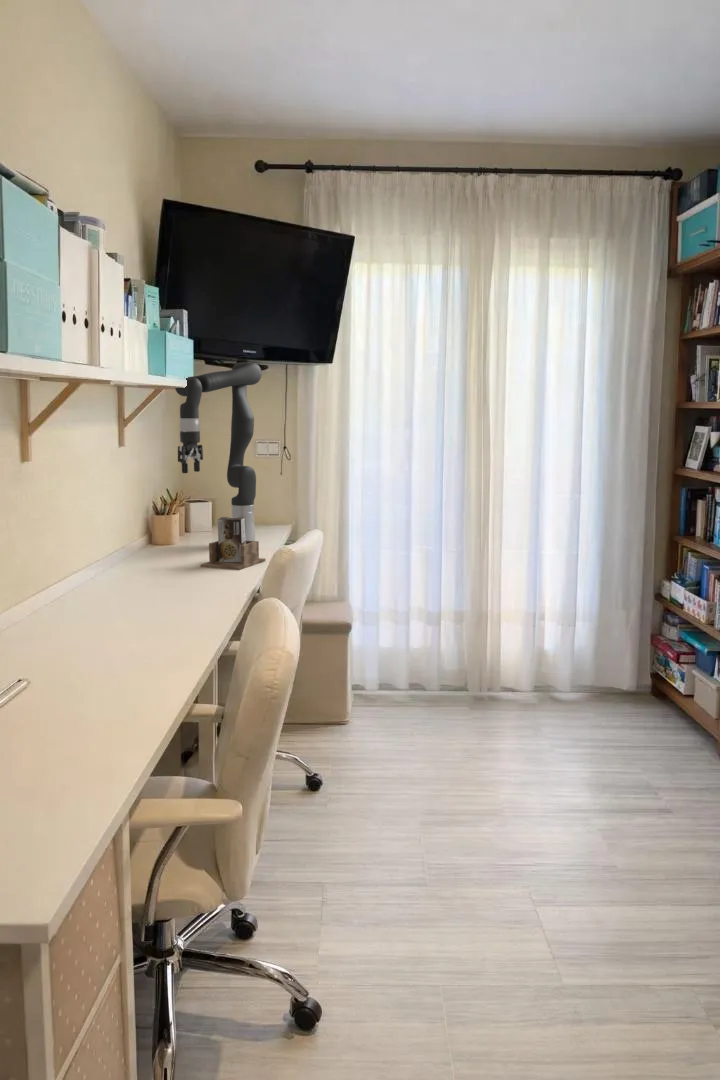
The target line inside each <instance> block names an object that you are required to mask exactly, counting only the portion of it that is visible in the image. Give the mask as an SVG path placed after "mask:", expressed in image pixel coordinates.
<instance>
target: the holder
mask: <svg viewBox="0 0 720 1080" xmlns="http://www.w3.org/2000/svg"><path fill="white" fill-rule="evenodd" d="M259 545H260V544H259V540H255V541H246V544H244V545H241V562H219V543H218V540H216V541H213V542H210V543H208V553H209V554H208V559H209V561H207V562H204V563H201V564H200V566H199V567H200V568H205V567H206V568H209V569H219V568H220V570H233V571H240V570H244V569H246V568H250V567H253V566H255V565H258V564H261V563H264V562H266V558H265V557H263V558H262V557H260V552H259V551H260V550H259V549H260V547H259Z"/></svg>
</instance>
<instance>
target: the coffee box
mask: <svg viewBox="0 0 720 1080" xmlns="http://www.w3.org/2000/svg"><path fill="white" fill-rule="evenodd" d="M217 537H218V540H217V541H218V543H219V562H241V545H244V544H246V525H245V517H232V516H221V517H219V518H218V519H217Z"/></svg>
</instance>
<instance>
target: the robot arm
mask: <svg viewBox="0 0 720 1080" xmlns="http://www.w3.org/2000/svg"><path fill="white" fill-rule="evenodd" d="M187 377H188V378H186V380H187V386H186V387H185V388H175V387H174V389H175V391H176V393H177V394H178V395H179V396H182V397H186V400H185V402H182V403H181V404H180V405H179V415H180V416H179V417H180V418H179V442H180V443H182V445H179V446H177V463H180V464H181V473H182V474H188V473H189V468H188V466H189V465H188V461H189V459H192V461H193V472H195V473H197V472H199V473H200V472H201V467H200V466H201V461H203V460H204V452H203V449H204V447H203V445H202V444H198V443H200V442H201V431H200V430H201V429H200V427H201V426H200V424H201V423H200V419H199V418H200V417H199V416H200V415H199V414H200V413H199V411H200V410H199V406H200V404H201V398H202V396H203V395H202V393H210V392H214V391H217V390H221V389H225V388H229V387H231V393H232V394H231V395H232V399H231V421H230V423H231V425H230V449H229V457H228V464H227V469H226V479H227V483H228V485H229V486H231V487H232V488H235V489H236V488H237V489H238V493H237V494H236V495H235V496H232V497H231V501H230V502H231V517H245V525H246V541H256V530H255V529H256V528H255V526H256V522H255V499H256V495H257V493H256V492H257V491H256V490H257V474H256V472H255V470H254V468H253V467H252V466H249V465H244V459H245V454H246V451H247V448H248V446H249V445H250V443H251V441H252V438H253V435H254V432H255V430H254V429H255V428H254V427H255V417H254V413H253V411H252V407H251V405H250V404H249V401H248V396H247V391H248V389H247V388H248V386H253V385H256V384H258V383H259V382H260V380H261V379H262V368H261V367H260V365H258V364H257V363H255V362H251V361H248V362H247V361H246V362H245V361H243V362H236V363H235V364H234V365H232V369H230V370H222V371H221V370H220V371H213V372H208V373H204V374H201V375H200V374H199V375H194V376H187Z"/></svg>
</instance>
